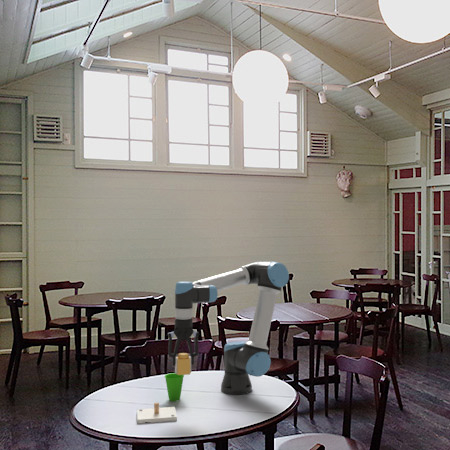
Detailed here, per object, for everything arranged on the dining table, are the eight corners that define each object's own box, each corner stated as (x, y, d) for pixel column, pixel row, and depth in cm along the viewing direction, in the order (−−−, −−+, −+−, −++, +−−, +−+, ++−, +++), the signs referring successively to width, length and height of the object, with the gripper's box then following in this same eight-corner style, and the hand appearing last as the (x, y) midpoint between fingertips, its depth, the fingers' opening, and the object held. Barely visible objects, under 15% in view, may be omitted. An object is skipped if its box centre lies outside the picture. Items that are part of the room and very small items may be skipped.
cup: (181, 403, 222) (180, 379, 222) (162, 402, 224) (161, 378, 224) (186, 396, 231) (186, 373, 231) (168, 395, 232) (168, 372, 233)
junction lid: (174, 410, 213) (174, 397, 213) (176, 420, 201) (176, 407, 201) (137, 412, 210) (137, 400, 210) (137, 423, 198) (137, 409, 199)
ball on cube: (188, 371, 212) (188, 352, 212) (189, 374, 207) (190, 355, 207) (176, 371, 211) (176, 353, 211) (177, 375, 206) (177, 355, 206)
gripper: (203, 316, 215) (202, 369, 215) (161, 317, 212) (161, 371, 211) (206, 318, 208) (205, 374, 207) (162, 319, 204) (162, 375, 204)
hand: (183, 372), depth 209 cm, fingers closed on ball on cube, 5 cm apart
